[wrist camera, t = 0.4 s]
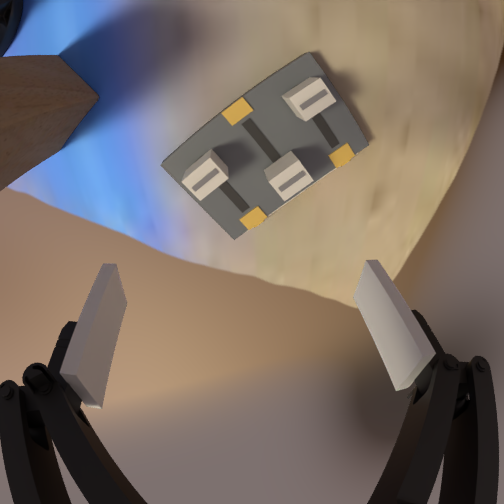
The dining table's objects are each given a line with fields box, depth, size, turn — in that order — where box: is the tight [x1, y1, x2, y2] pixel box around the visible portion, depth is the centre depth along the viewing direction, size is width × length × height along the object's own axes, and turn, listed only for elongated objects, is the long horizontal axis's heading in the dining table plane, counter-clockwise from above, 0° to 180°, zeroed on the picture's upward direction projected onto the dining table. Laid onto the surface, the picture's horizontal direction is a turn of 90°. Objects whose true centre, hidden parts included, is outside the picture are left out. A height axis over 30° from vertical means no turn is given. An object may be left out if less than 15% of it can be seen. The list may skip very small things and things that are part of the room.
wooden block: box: [0, 55, 99, 191], centre depth 19 cm, size 10×10×20 cm
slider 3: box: [264, 151, 314, 201], centre depth 32 cm, size 3×4×4 cm
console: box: [161, 52, 369, 240], centre depth 34 cm, size 14×22×2 cm, turn 128°
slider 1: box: [182, 149, 229, 201], centre depth 31 cm, size 3×4×4 cm
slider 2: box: [282, 77, 336, 121], centre depth 27 cm, size 3×4×4 cm
